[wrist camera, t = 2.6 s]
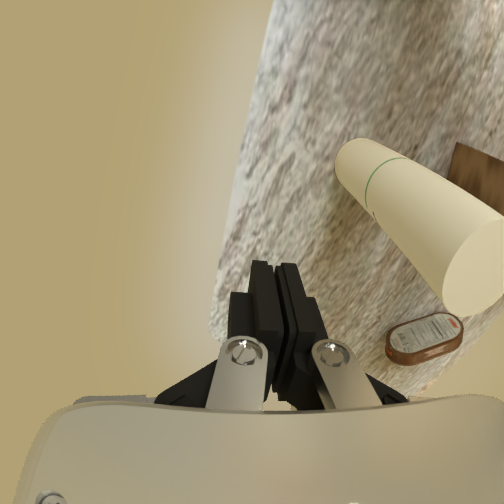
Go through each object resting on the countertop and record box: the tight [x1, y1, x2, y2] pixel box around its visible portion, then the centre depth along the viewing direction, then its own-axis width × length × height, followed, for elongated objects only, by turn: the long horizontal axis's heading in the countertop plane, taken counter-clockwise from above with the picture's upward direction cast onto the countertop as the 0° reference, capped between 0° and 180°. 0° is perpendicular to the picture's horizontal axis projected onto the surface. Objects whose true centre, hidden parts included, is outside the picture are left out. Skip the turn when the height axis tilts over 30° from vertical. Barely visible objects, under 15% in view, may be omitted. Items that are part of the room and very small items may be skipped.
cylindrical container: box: [335, 138, 504, 317], centre depth 27 cm, size 7×7×25 cm
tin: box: [385, 312, 464, 366], centre depth 48 cm, size 15×3×8 cm, turn 104°
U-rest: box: [447, 142, 504, 216], centre depth 30 cm, size 13×3×21 cm, turn 173°
